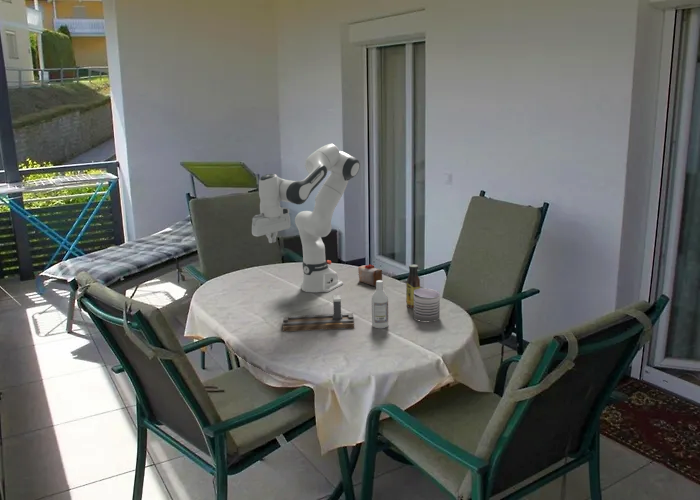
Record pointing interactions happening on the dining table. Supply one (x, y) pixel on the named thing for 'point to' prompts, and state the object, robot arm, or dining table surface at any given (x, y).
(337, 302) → the fader knob
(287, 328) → the fader console
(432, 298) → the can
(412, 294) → the sauce bottle
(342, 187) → the robot arm
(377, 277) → the food item
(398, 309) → the dining table surface
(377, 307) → the bath foam
